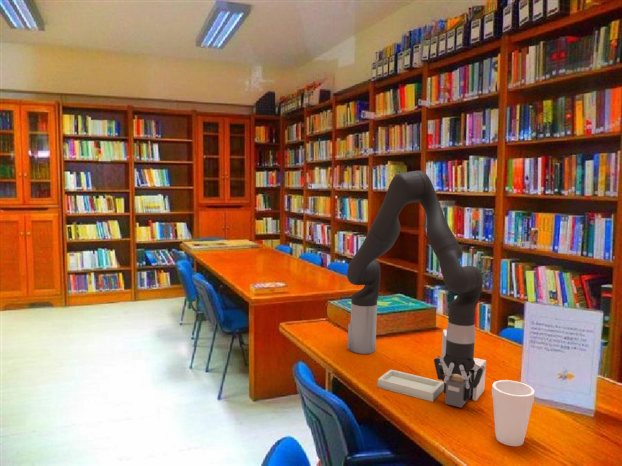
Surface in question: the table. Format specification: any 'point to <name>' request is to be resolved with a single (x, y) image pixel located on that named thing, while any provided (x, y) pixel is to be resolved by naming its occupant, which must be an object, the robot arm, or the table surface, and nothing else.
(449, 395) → the grey rectangular block
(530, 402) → the foam cup
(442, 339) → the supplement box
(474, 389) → the bay
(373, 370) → the table surface
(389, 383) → the tray
